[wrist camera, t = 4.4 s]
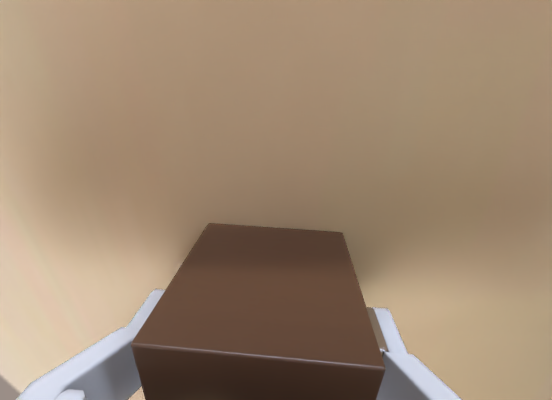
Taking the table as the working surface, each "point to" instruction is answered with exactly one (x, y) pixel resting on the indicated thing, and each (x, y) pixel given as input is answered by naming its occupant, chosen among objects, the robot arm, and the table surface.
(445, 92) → the table surface
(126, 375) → the robot arm
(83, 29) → the table surface
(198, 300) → the block
